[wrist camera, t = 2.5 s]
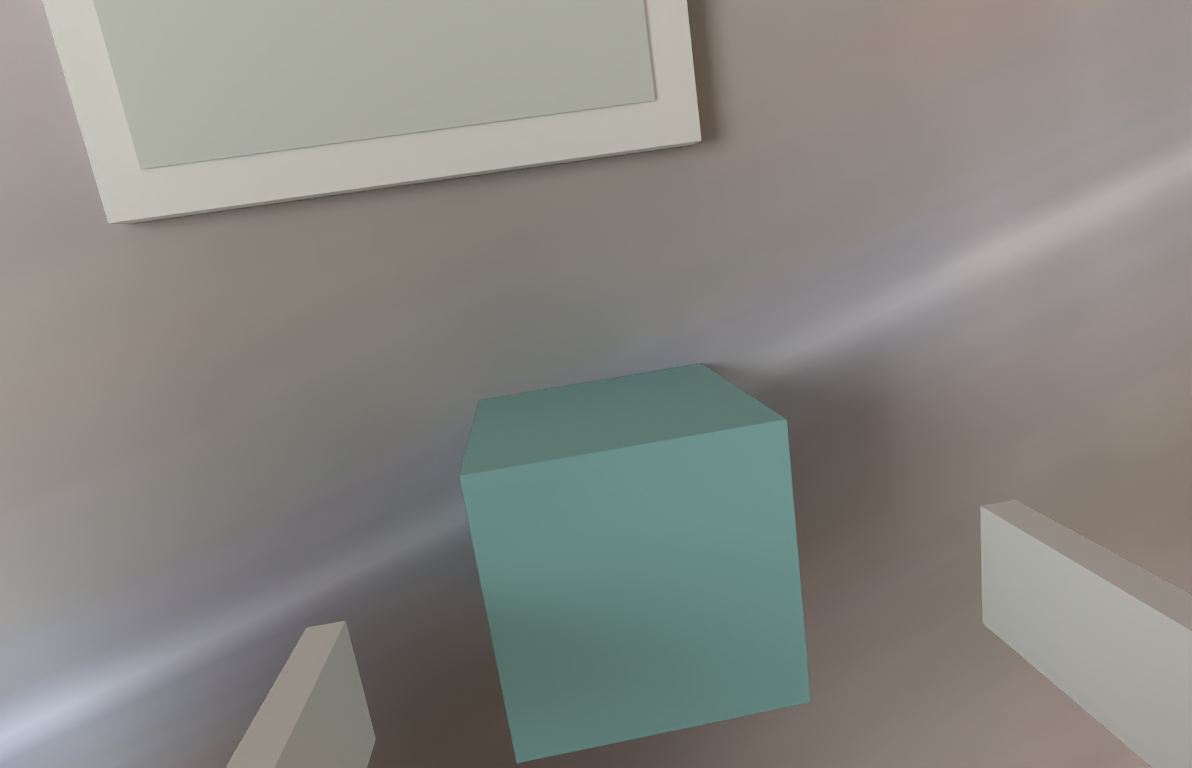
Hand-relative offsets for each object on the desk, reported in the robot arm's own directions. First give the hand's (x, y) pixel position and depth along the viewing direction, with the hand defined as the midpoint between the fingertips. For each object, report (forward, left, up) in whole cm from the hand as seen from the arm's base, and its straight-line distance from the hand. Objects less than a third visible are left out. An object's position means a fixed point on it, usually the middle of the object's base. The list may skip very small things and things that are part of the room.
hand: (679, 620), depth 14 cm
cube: (0, 0, -8) cm, 8 cm away
